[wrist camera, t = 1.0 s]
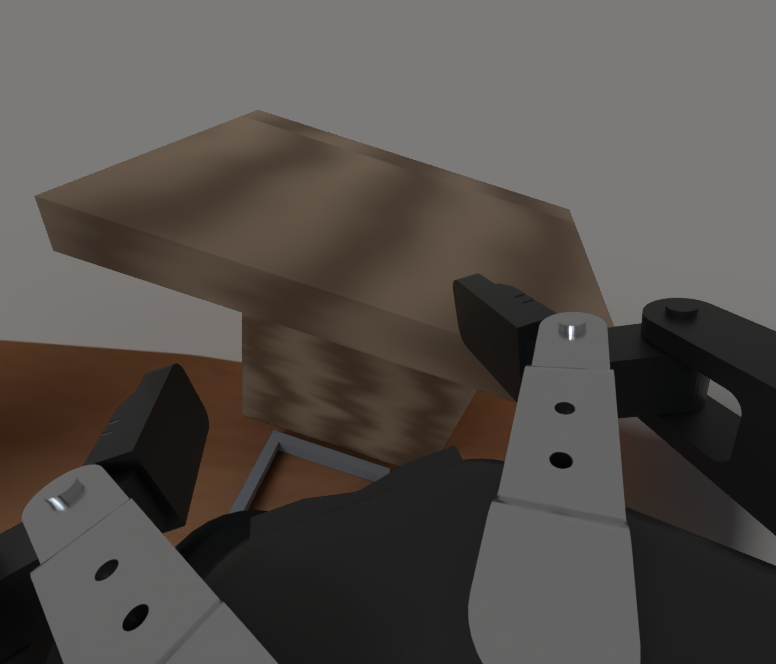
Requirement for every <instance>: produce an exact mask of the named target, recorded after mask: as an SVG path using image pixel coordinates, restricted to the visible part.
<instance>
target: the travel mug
mask: <svg viewBox="0 0 776 664" xmlns="http://www.w3.org/2000/svg"><path fill="white" fill-rule="evenodd" d="M265 512H268V511H261V510H247V511H238V512H234V513H230V514H225V515H222V516H220V517H218V518H216V519H213V520H211V521H209V522H207V523H205V524H204V525H202V526H200V527H199V528H197V529H196V530H194V531H193V532H191V533H190V534H189V535H188V536H187V537H186V538H185V539H183V540H182V541H181V542H180V543H179V544H178V545H177V546H176V547H175V549H176V550H177V551H178V552H179V553H180V554H181V556H182V557H183V558H184V559H185V560H186V561H187V563H188V564H189V565H190V566H191V567H192V568H193V569H194V571H195V572H196V573H197V574H198V575H199V576H200V577H201V578H202V577H203V575H204V574H205V573H206V572H207V571H208V570H209V569H210V568H211V567H212V566H213V565H214V564H215V563H216V562H217V561H218V560H219V559H220V558H221V557H222V556H224V555H225V554H226V553H227V552H228V551H230V550H231V549H232V548H233V547H235V546H236V545H238V544H239V543H240V542H242V541H243V540H245V539H247V538H248V537H250V525H251V517H254V516H257V515H260V514H262V513H265Z"/></svg>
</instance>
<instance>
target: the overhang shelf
mask: <svg viewBox="0 0 776 664" xmlns="http://www.w3.org/2000/svg"><path fill="white" fill-rule="evenodd" d="M35 199H36V202H37V205H38V208H39V210H40V213H41V216H42V219H43V222H44V225H45V228H46V231H47V233H48V236H49V239H50V242H51V245H52V248H53V251H56V252H59V253H62V254H65V255H69V256H71V257H74V258H78V259H81V260H84V261H87V262H90V263H93V264H96V265H99V266H102V267H105V268H108V269H111V270H114V271H117V272H120V273H123V274H126V275H129V276H132V277H135V278H139V279H142V280H145V281H148V282H151V283H154V284H157V285H160V286H163V287H166V288H169V289H172V290H175V291H178V292H181V293H184V294H188V295H190V296H193V297H197V298H200V299H203V300H206V301H209V302H212V303H215V304H218V305H221V306H224V307H227V308H230V309H233V310H236V311H239V312H242V415H244V416H247V417H250V418H253V419H256V420H259V421H262V422H265V423H268V424H272V425H275V426H278V427H281V428H284V429H287V430H290V431H293V432H296V433H299V434H302V435H305V436H308V437H311V438H314V439H317V440H320V441H323V442H326V443H329V444H332V445H335V446H338V447H341V448H344V449H347V450H350V451H353V452H356V453H359V454H362V455H365V456H368V457H371V458H374V459H377V460H380V461H383V462H386V463H389V464H392V465H395V466H398V467H400V466H402V465H404V464H405V463H407V462H410V461H413V460H415V459H418V458H421V457H424V456H427V455H430V454H432V453H435V452H438V451H441V450H443V448H444V446H445V444H446V443H447V441H448V439H449V438H450V436H451V434H452V432H453V431H454V429H455V427H456V425H457V424H458V422H459V420H460V419H461V417H462V415H463V413H464V412H465V410H466V408H467V407H468V405H469V403H470V401H471V400H472V398H473V396H474V394H475V393H476V391H477V390H480V391H484V392H487V393H490V394H493V395H496V396H499V397H502V398H505V399H508V400H511V401H514V402H516V401H515V400H514V399H513V398H512V397H511V396H510V395H509V393H508V392H507V391H506V390H505V389H504V388H503V387H502V386H501V385H500V383H499V382H498V381H497V380H496V379H495V378H494V377H493V376H492V375H491V374H490V372H489V371H488V370H487V369H486V368H485V367H484V366H483V365H482V364H481V362H480V361H479V360H478V359H477V358H476V357H475V356H474V355H473V354H472V353H471V351H470V350H469V349H468V348H467V347H466V346H465V344H464V342H463V340H462V338H461V335H460V332H459V328H458V321H457V315H456V308H455V301H454V294H453V281H454V280H457V279H460V278H463V277H467V276H470V275H473V274H477V273H479V274H481V275H482V276H484V277H485V278H487V279H488V280H490V281H491V282H493V283H494V284H498V283H501V284H505V285H509V286H513V287H516V288H517V289H519V290H521V291H522V292H524V293H525V295H529V296H530V297H532V298H533V299H534V301H535V300H537V301H538V302H540V303H541V304H543V305H545V306H546V307H548V308H549V309H551V310H553V311H554V312H556V313H557V314H558V313H564V312H583V313H588V314H592V315H595V316H597V317H599V318H601V319H602V320H604V321H605V323H606V324H607V327H614V326H613V323H612V320H611V317H610V315H609V312H608V309H607V307H606V305H605V302H604V299H603V297H602V294H601V291H600V289H599V286H598V283H597V281H596V278H595V276H594V273H593V271H592V268H591V265H590V263H589V260H588V257H587V255H586V252H585V249H584V247H583V244H582V242H581V239H580V236H579V234H578V231H577V229H576V226H575V223H574V221H573V218H572V216H571V213H570V210H569V209H565V208H562V207H559V206H556V205H553V204H550V203H547V202H544V201H541V200H538V199H534V198H531V197H528V196H525V195H522V194H519V193H516V192H512V191H509V190H506V189H503V188H500V187H497V186H494V185H491V184H487V183H485V182H481V181H478V180H475V179H472V178H469V177H466V176H462V175H460V174H456V173H453V172H450V171H447V170H444V169H441V168H438V167H435V166H432V165H428V164H425V163H422V162H419V161H416V160H413V159H410V158H406V157H403V156H400V155H397V154H394V153H391V152H388V151H385V150H382V149H378V148H375V147H372V146H369V145H366V144H363V143H359V142H356V141H354V140H350V139H347V138H344V137H341V136H338V135H335V134H332V133H329V132H325V131H322V130H319V129H316V128H313V127H310V126H307V125H304V124H301V123H297V122H294V121H291V120H288V119H285V118H281V117H279V116H276V115H272V114H269V113H266V112H263V111H260V110H256V111H254V112H251V113H249V114H246V115H243V116H241V117H238V118H236V119H233V120H230V121H228V122H225V123H223V124H220V125H218V126H215V127H212V128H210V129H207V130H205V131H202V132H199V133H197V134H194V135H192V136H189V137H186V138H184V139H181V140H179V141H176V142H173V143H171V144H168V145H166V146H163V147H160V148H158V149H155V150H153V151H150V152H148V153H145V154H142V155H140V156H137V157H134V158H132V159H129V160H127V161H124V162H121V163H119V164H116V165H114V166H111V167H109V168H106V169H104V170H101V171H98V172H96V173H93V174H90V175H88V176H85V177H83V178H80V179H77V180H75V181H72V182H70V183H67V184H65V185H62V186H59V187H57V188H54V189H52V190H49V191H47V192H44V193H41V194H39V195H36V196H35Z"/></svg>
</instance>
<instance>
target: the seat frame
mask: <svg viewBox="0 0 776 664" xmlns="http://www.w3.org/2000/svg"><path fill="white" fill-rule="evenodd" d="M278 450H279V451H282V452H285V453H288V454H291V455H294V456H297V457H300V458H303V459H306V460H309V461H312V462H315V463H318V464H321V465H324V466H327V467H330V468H333V469H336V470H339V471H342V472H345V473H348V474H351V475H354V476H357V477H360V478H363V479H366V480H369V481H372V482H375V481H377V480H379V479H380V478H382V477H384V476H385V475H387V474H389V473H390V468H387V467H384V466H381V465H377V464H374V463H371V462H368V461H365V460H362V459H359V458H356V457H353V456H350V455H347V454H344V453H341V452H338V451H335V450H332V449H329V448H326V447H323V446H320V445H317V444H314V443H311V442H308V441H305V440H302V439H299V438H296V437H293V436H290V435H287V434H284V433H281V432H278V431H275V430H273V432H272V434H271V435H270V437H269V439H268V441H267V443H266V445H265V447H264V448H263V450H262V452H261V454H260V456H259V458H258V459H257V461H256V463H255V465H254V467H253V469H252V471H251V472H250V474H249V476H248V478H247V480H246V482H245V484H244V485H243V487H242V489H241V491H240V493H239V495H238V497H237V498H236V500H235V502H234V504H233V506H232V508H231V509H230V511H229V513H228V514H230V513H234V512H238V511H247V510H248V509H249V507H250V505H251V503H252V501H253V499H254V497H255V495H256V493H257V491H258V489H259V487H260V485H261V483H262V481H263V479H264V477H265V475H266V473H267V471H268V469H269V467H270V465H271V463H272V461H273V459H274V457H275V455H276V453H277V451H278Z"/></svg>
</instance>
